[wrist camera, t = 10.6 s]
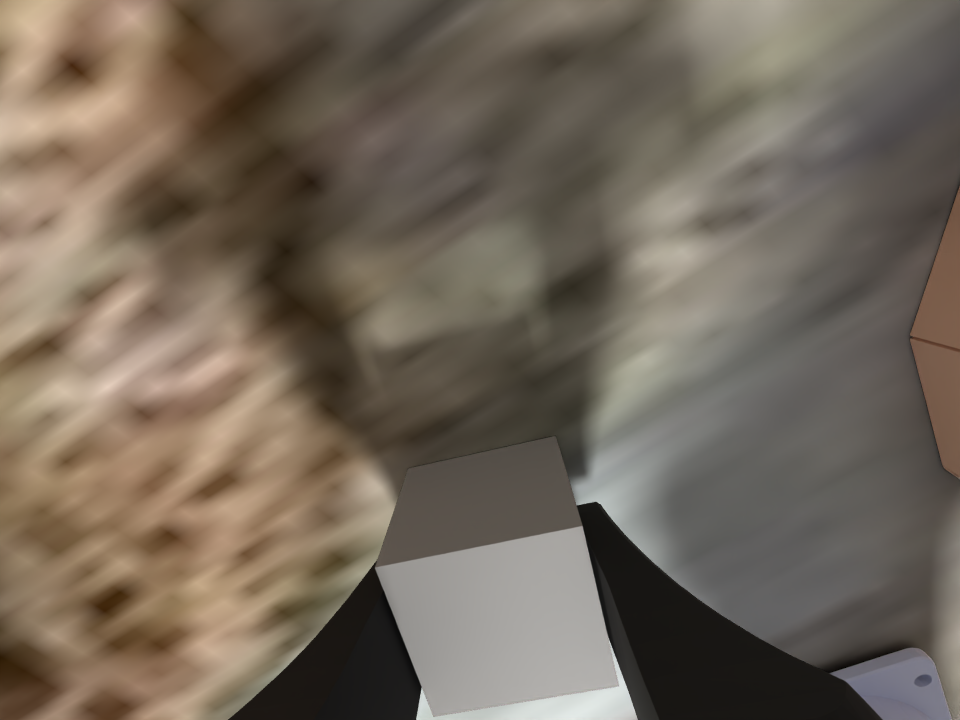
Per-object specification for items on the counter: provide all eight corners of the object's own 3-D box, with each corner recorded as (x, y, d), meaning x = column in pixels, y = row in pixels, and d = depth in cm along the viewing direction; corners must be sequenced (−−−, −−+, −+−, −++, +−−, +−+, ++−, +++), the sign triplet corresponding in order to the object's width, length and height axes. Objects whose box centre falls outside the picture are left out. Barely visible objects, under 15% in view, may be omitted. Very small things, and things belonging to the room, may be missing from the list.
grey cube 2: (555, 436, 13) (582, 525, 9) (584, 560, 14) (619, 686, 10) (408, 468, 13) (374, 567, 10) (448, 587, 15) (433, 716, 11)
